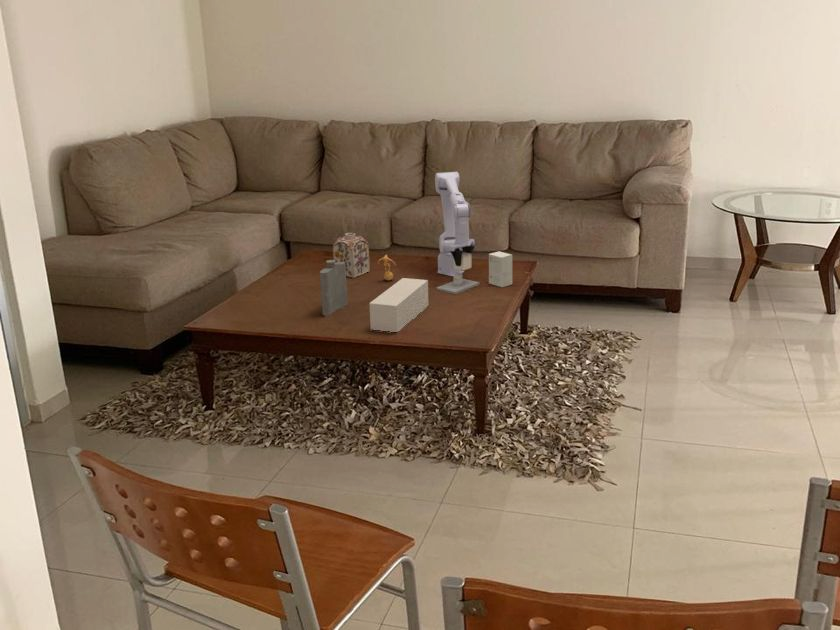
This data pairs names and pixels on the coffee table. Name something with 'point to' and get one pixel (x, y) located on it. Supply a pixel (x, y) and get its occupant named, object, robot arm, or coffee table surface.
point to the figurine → (388, 274)
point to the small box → (500, 269)
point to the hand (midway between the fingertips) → (462, 264)
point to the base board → (457, 289)
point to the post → (458, 279)
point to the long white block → (399, 305)
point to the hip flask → (333, 286)
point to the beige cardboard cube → (464, 262)
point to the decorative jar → (352, 254)
